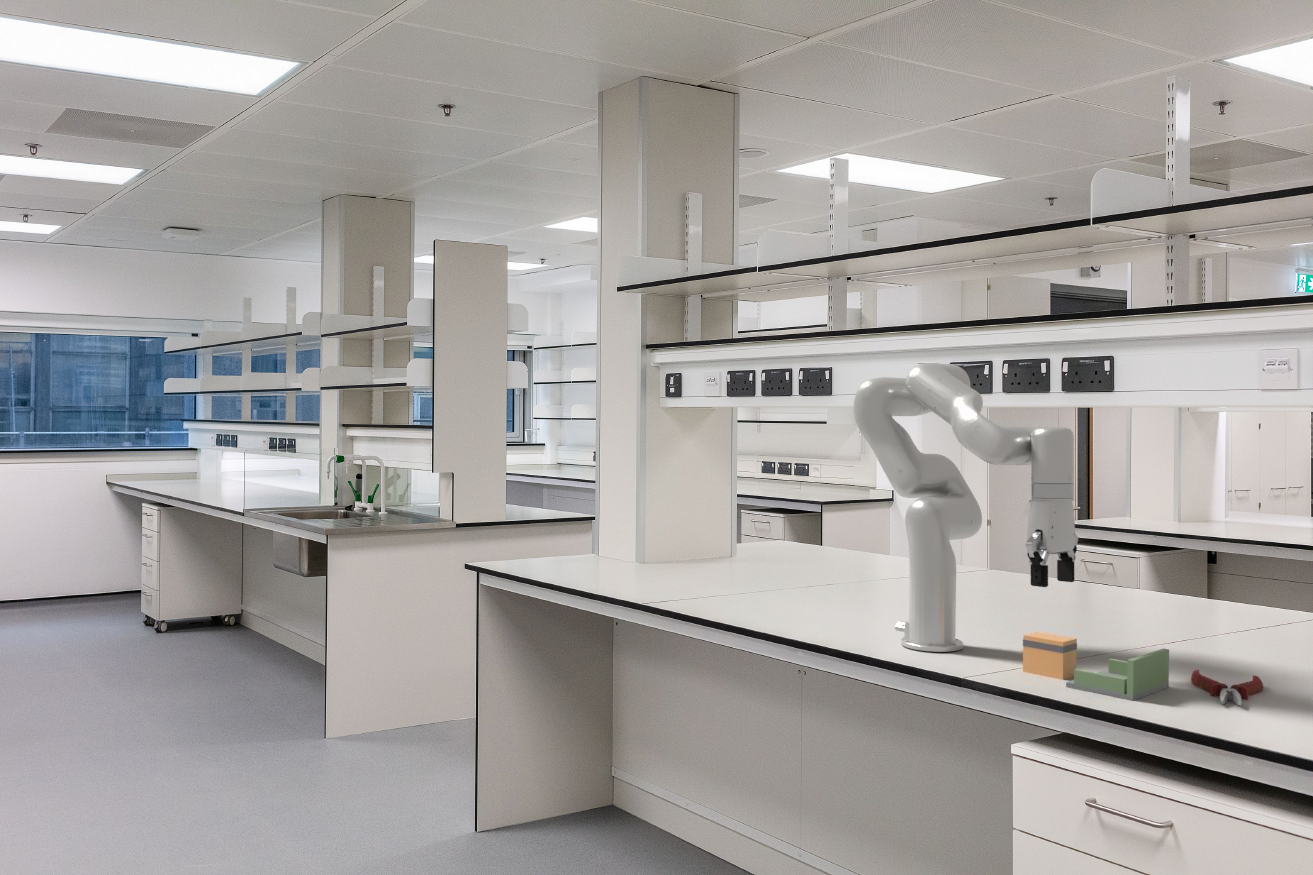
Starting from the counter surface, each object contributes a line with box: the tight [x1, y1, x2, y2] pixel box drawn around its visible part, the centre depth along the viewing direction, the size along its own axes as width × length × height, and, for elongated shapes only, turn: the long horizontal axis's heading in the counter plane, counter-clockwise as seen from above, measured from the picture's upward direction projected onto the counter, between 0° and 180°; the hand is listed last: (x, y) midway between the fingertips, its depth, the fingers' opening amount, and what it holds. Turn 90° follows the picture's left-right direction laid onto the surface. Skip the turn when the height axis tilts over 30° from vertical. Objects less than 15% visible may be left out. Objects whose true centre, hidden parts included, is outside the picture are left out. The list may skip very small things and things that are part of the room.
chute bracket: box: [1065, 648, 1170, 701], centre depth 189 cm, size 12×14×7 cm
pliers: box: [1190, 669, 1264, 707], centre depth 184 cm, size 12×20×3 cm, turn 154°
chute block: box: [1022, 631, 1078, 681], centre depth 199 cm, size 8×5×7 cm, turn 41°
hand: (1052, 583), depth 198 cm, fingers open, 9 cm apart
